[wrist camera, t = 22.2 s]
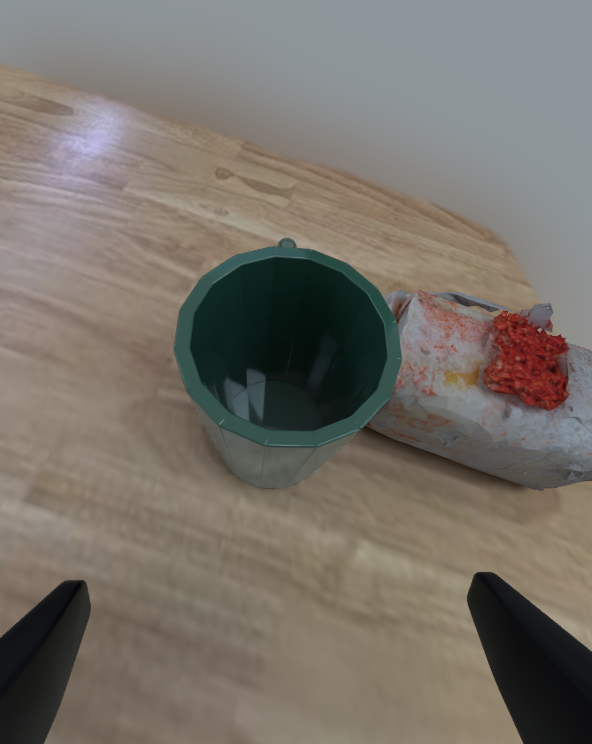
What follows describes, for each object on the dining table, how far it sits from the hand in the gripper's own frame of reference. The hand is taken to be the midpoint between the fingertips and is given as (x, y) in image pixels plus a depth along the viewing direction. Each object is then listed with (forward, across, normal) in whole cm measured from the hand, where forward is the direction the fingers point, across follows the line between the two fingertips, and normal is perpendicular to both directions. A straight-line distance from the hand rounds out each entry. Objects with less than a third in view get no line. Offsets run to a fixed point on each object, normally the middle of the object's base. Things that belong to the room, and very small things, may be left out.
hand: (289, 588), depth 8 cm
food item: (+15, -12, +3) cm, 19 cm away
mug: (+15, 0, +3) cm, 15 cm away
